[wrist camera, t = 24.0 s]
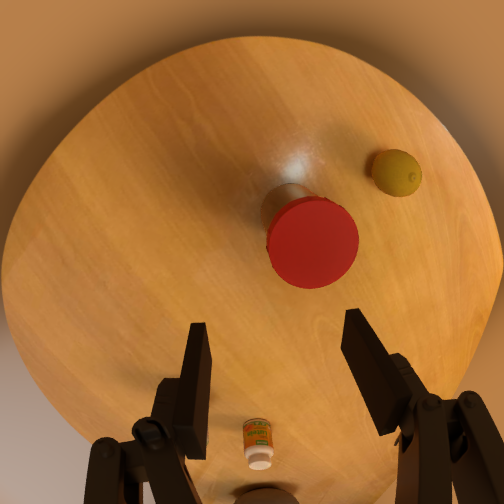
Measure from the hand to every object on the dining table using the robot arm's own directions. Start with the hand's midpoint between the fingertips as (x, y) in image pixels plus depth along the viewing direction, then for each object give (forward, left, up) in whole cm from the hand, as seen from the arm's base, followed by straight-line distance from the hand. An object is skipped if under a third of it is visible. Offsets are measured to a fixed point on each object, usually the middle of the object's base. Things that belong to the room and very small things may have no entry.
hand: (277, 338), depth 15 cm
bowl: (+71, +38, -22) cm, 83 cm away
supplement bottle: (+36, +18, -22) cm, 46 cm away
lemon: (-14, +11, -22) cm, 28 cm away
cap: (-3, +3, -10) cm, 11 cm away
